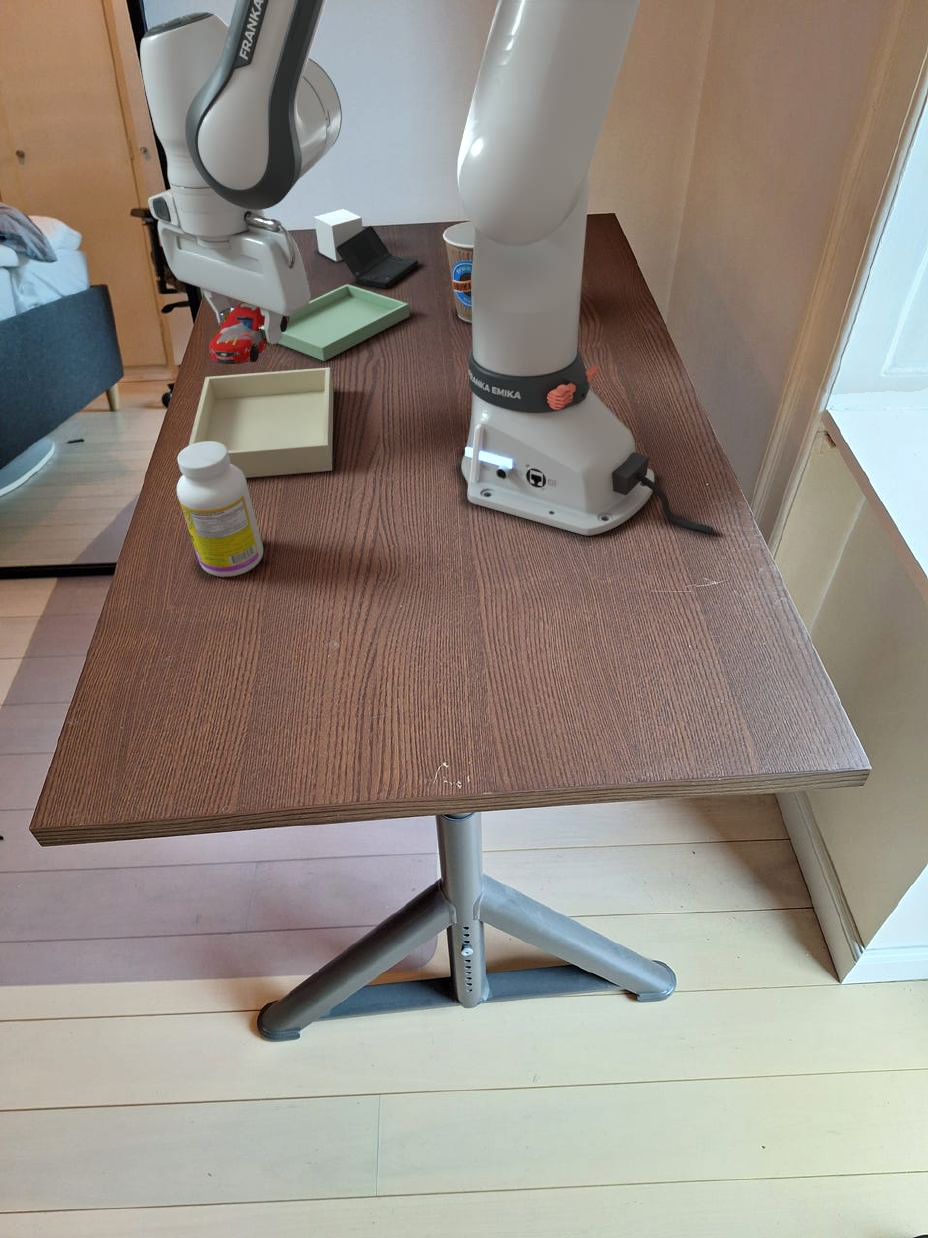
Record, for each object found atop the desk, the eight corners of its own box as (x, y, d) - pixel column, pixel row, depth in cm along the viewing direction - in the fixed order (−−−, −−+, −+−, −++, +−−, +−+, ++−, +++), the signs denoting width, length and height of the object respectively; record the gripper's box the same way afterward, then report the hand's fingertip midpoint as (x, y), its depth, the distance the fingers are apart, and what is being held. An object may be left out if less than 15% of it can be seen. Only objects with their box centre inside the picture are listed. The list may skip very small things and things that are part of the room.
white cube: (347, 243, 154) (343, 208, 150) (365, 252, 150) (361, 217, 146) (318, 252, 151) (313, 216, 147) (336, 261, 148) (331, 225, 144)
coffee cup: (437, 324, 128) (432, 242, 120) (459, 297, 135) (456, 217, 127) (502, 332, 126) (502, 248, 117) (521, 303, 133) (523, 223, 124)
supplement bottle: (212, 538, 91) (181, 433, 83) (272, 540, 91) (247, 435, 82) (190, 578, 87) (155, 472, 78) (253, 581, 86) (225, 474, 77)
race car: (247, 372, 93) (239, 337, 90) (204, 368, 95) (194, 333, 92) (298, 320, 102) (292, 287, 99) (258, 317, 104) (251, 284, 101)
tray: (409, 316, 131) (408, 303, 129) (324, 361, 121) (322, 347, 119) (348, 296, 137) (347, 283, 135) (262, 337, 127) (260, 324, 125)
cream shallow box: (211, 400, 113) (205, 376, 111) (333, 391, 114) (329, 367, 112) (193, 482, 99) (185, 456, 97) (332, 470, 100) (327, 444, 98)
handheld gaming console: (398, 279, 137) (360, 223, 134) (367, 303, 141) (329, 250, 138) (423, 263, 146) (388, 210, 143) (393, 286, 150) (358, 235, 147)
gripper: (311, 212, 85) (333, 344, 94) (185, 182, 95) (216, 304, 104) (263, 232, 81) (291, 366, 91) (137, 198, 91) (174, 322, 101)
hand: (250, 333), depth 97 cm, fingers closed on race car, 6 cm apart
